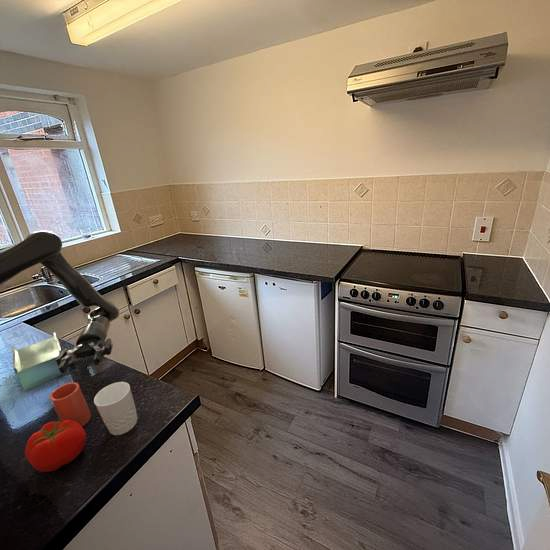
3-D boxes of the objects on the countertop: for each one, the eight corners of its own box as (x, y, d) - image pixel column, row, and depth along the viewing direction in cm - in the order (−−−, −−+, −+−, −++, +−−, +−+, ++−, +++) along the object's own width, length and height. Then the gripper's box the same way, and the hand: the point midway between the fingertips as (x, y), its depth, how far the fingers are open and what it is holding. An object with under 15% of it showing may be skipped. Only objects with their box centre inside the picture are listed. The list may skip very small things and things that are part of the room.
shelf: (22, 368, 102) (12, 347, 99) (63, 352, 109) (55, 332, 106) (24, 391, 91) (13, 368, 88) (70, 371, 98) (61, 350, 95)
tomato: (93, 460, 67) (80, 431, 63) (32, 492, 61) (15, 463, 58) (88, 429, 75) (77, 402, 72) (35, 455, 69) (20, 427, 66)
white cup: (99, 432, 74) (86, 400, 70) (126, 408, 80) (115, 378, 77) (121, 442, 70) (108, 409, 67) (147, 416, 77) (136, 386, 73)
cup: (60, 434, 74) (45, 403, 71) (68, 416, 80) (54, 386, 76) (87, 426, 76) (74, 396, 72) (93, 408, 81) (81, 379, 78)
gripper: (64, 332, 96) (45, 362, 81) (112, 322, 99) (102, 348, 85) (73, 352, 99) (55, 384, 84) (119, 341, 102) (110, 370, 88)
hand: (79, 366), depth 84 cm, fingers open, 8 cm apart
